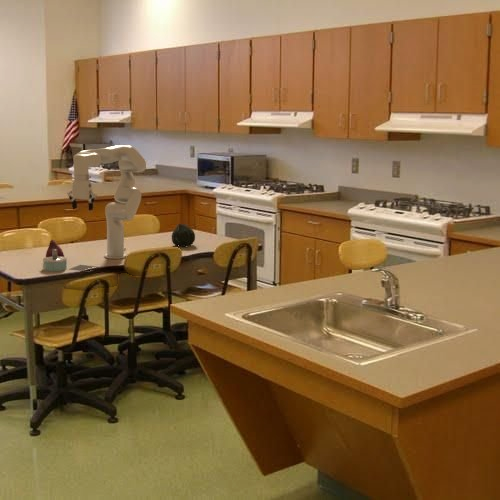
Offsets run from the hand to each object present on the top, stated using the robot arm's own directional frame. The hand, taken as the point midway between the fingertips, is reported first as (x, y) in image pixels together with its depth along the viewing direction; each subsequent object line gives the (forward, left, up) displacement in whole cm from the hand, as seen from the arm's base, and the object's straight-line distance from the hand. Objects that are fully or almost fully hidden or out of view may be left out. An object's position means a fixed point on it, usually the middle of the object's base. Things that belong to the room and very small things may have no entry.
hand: (82, 209), depth 390 cm
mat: (+6, +4, -31) cm, 32 cm away
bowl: (+14, -9, -31) cm, 35 cm away
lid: (+14, -9, -26) cm, 31 cm away
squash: (-76, +28, -31) cm, 87 cm away
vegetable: (-1, -18, -31) cm, 36 cm away
